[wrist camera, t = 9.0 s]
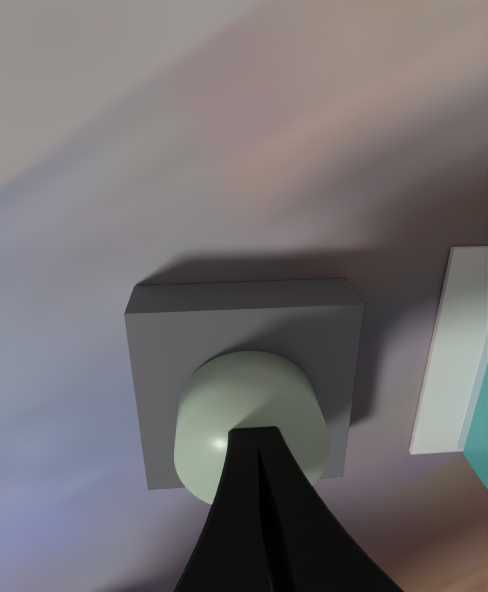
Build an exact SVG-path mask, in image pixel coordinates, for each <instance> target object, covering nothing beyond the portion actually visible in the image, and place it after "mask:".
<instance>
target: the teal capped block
mask: <svg viewBox="0 0 488 592" xmlns="http://www.w3.org/2000/svg"><path fill="white" fill-rule="evenodd" d="M463 455H464V457H465V458H466V460H467V461H468V462H469V464H470V465H471V467H472V468H473V469H474V471H475V472H476V474H477V475H478V477H479V478H480V479H481V481H482V482H483V484H484V485H485V487H486V488H487V489H488V364H487V367H486V371H485V374H484V378H483V382H482V385H481V389H480V393H479V396H478V400H477V403H476V407H475V411H474V414H473V418H472V421H471V425H470V429H469V432H468V436H467V439H466V443H465V447H464V450H463Z"/></svg>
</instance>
